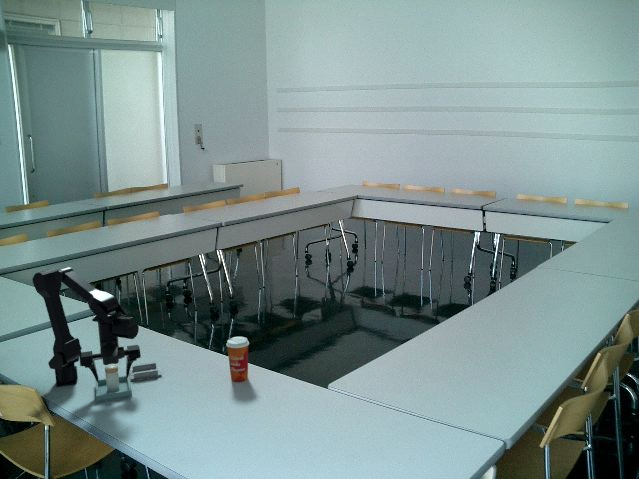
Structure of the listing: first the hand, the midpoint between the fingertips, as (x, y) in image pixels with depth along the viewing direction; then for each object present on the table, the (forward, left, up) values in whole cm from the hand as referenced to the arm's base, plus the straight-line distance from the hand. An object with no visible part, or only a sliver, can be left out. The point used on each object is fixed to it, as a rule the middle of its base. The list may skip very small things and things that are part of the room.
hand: (112, 379), depth 212 cm
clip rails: (+11, +10, -4) cm, 15 cm away
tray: (0, 0, -4) cm, 4 cm away
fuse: (0, 0, -4) cm, 4 cm away
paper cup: (+41, -6, -4) cm, 42 cm away
